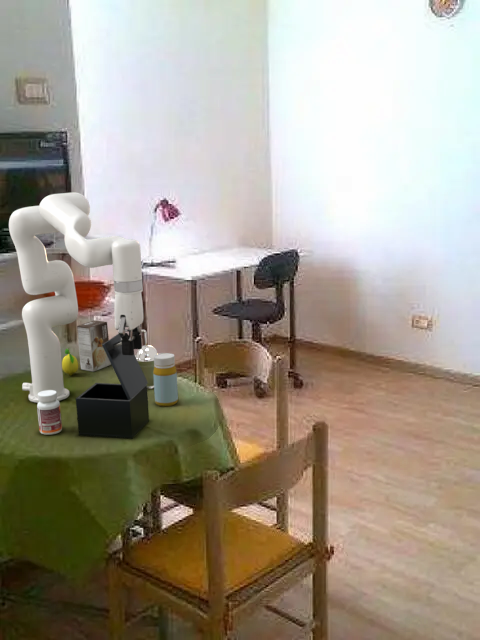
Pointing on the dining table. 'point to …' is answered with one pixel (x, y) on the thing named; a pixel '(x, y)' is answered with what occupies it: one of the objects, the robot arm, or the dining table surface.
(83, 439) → the dining table surface
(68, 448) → the dining table surface
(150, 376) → the cup with straw
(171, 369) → the bottle
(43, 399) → the pill bottle
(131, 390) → the bin lid
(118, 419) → the waste bin
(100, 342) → the coffee box
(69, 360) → the lemon
